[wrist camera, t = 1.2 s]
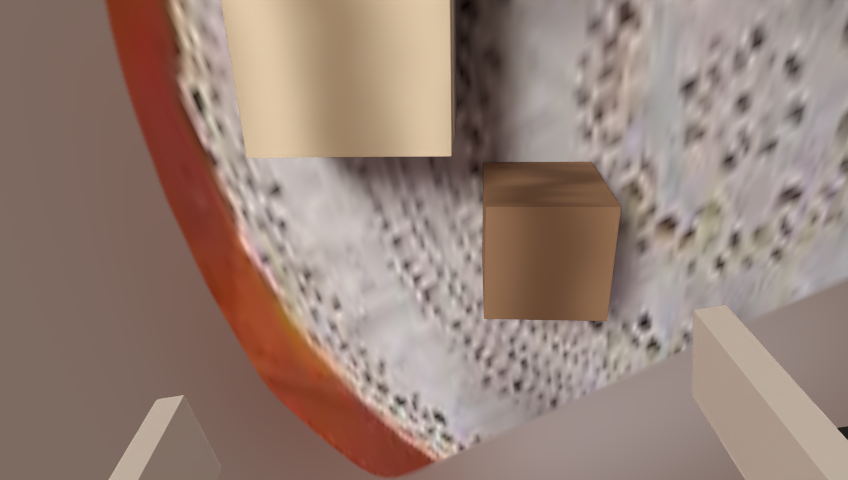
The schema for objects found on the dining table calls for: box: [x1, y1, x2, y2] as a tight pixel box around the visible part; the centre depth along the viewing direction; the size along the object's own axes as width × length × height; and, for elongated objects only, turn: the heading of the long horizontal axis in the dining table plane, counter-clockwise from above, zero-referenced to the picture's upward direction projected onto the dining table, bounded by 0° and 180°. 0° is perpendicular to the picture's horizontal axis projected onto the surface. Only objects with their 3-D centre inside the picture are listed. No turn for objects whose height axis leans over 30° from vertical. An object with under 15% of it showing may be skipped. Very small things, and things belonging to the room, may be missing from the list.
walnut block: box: [482, 162, 621, 321], centre depth 29 cm, size 6×6×7 cm
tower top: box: [221, 0, 455, 158], centre depth 24 cm, size 9×9×4 cm
